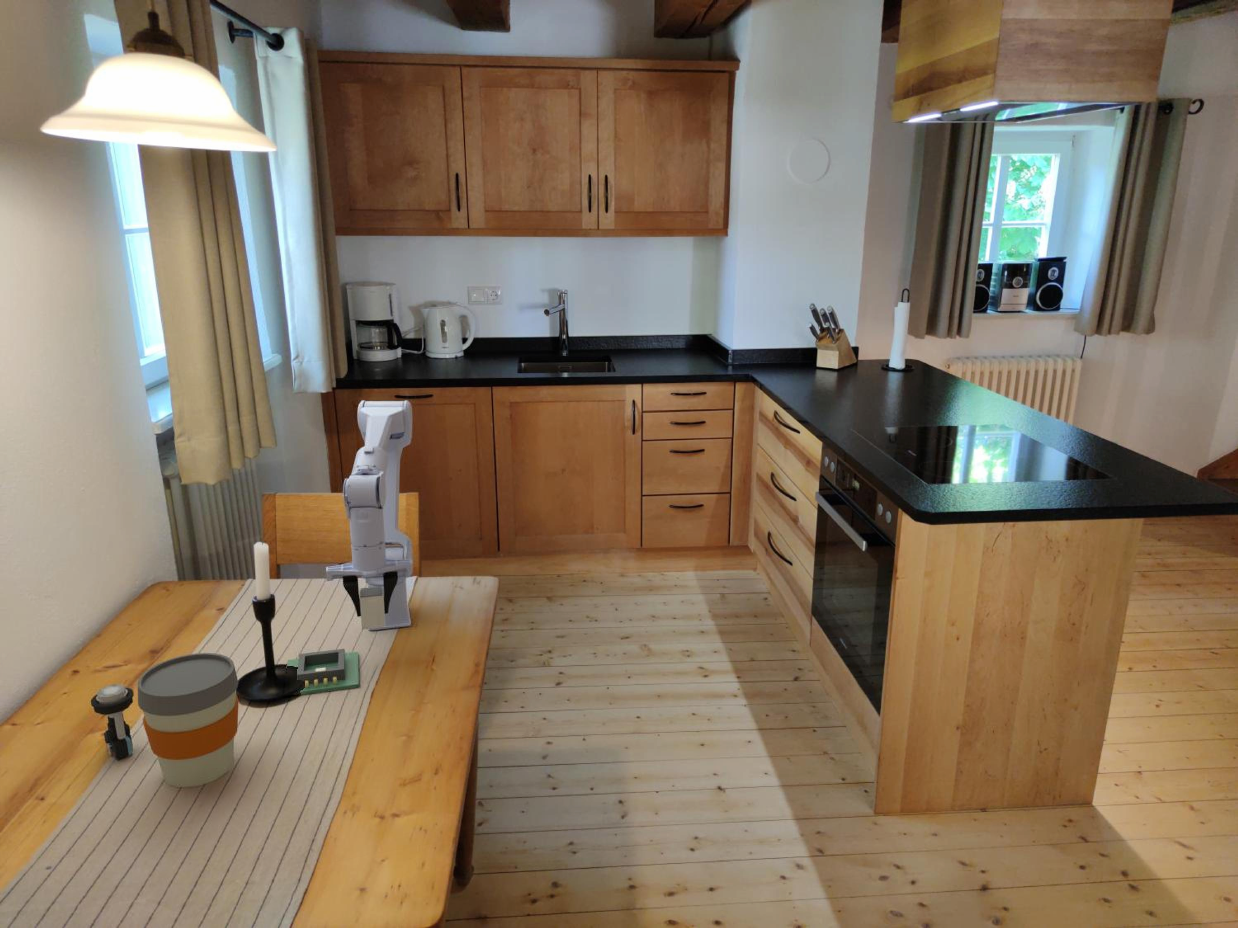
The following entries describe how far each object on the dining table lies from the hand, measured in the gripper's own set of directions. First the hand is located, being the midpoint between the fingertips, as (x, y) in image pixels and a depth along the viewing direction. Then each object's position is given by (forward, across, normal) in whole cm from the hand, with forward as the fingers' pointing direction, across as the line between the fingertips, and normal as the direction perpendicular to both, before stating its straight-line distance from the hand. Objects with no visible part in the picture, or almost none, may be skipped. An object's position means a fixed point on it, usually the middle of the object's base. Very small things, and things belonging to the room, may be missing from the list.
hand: (372, 612), depth 150 cm
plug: (+2, 0, 0) cm, 2 cm away
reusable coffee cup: (+9, -25, -27) cm, 38 cm away
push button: (+9, -37, -19) cm, 43 cm away
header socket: (+9, -9, -4) cm, 13 cm away
